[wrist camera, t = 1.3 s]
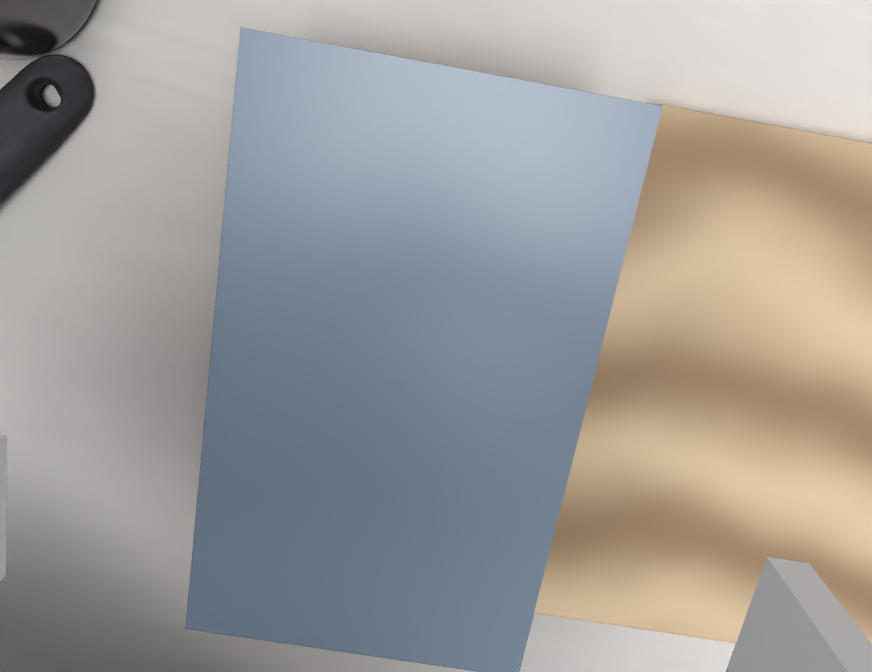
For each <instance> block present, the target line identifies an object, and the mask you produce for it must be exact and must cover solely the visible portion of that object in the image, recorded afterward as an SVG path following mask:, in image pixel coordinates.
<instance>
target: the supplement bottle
mask: <svg viewBox="0 0 872 672" xmlns="http://www.w3.org/2000/svg"><path fill="white" fill-rule="evenodd" d="M95 3H96V0H0V59H8V60H9V59H24V58H31V57H35V56H39V55H42V54H45V53H48V52H50V51H52V50H54V49H56V48H58V47H59V46H61V45H62V44H64V43H65V42H67V41H68V40H69V39H70V38H71V37H73V36H74V35H75V34H76V33H77V32H78V30H79V29H80V28H81V27H82V26H83V24H84V23H85V22H86V20H87V19H88V17H89V15H90V13H91V12H92V9H93V7H94V5H95Z"/></svg>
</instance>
